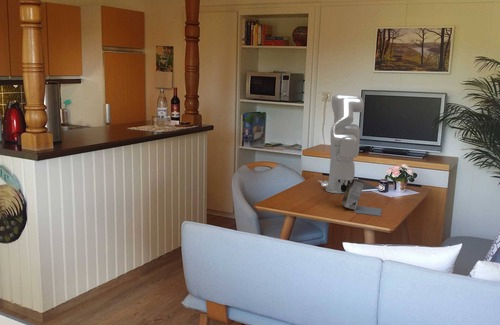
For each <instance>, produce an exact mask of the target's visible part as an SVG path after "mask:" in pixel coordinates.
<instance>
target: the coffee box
mask: <svg viewBox="0 0 500 325" xmlns="http://www.w3.org/2000/svg"><path fill="white" fill-rule="evenodd" d="M364 185H365V181H363V180H362V179H360V178H356V177H354V179H353V180H352V182H351V183H349V184H348V185H347V189H346V191H345V193H343V197H342V200H341V205H342V206H343V207H345V208H348V209H351V210H354V211H355V210H356V207H357V206H358V204H359V202H360V198H361V195H362V191H363V189H364Z"/></svg>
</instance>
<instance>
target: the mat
mask: <svg viewBox="0 0 500 325" xmlns="http://www.w3.org/2000/svg"><path fill="white" fill-rule="evenodd" d="M382 212H383V209H382V208H378V207H370V206H366V205H365V206H363V205H357V207H356V210H354V211H353V213H354V214H361V215H368V216H374V217H375V216H376V217H382V216H381V215H382Z"/></svg>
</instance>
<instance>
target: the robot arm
mask: <svg viewBox="0 0 500 325" xmlns="http://www.w3.org/2000/svg"><path fill="white" fill-rule="evenodd" d="M364 106H365V104H364V100H363V98H362V96H360V95H358V94H343V93H342V94H340V93H339V94H335V95H332V98H331V109H332V111H333V124H332V127H331V128H330V138H329V139H330V140H329V141H330V146H329V153H330V154H329V155H330V160H329V161H330V162H329V173H328V174H329V175H328V182H326V183H325V182H321V187H323V188H325V191H326V192H328V193H331V194H345V191H346V189H347V185H348V184H349V183H351V182H352V180H353V179H354V178H355V173H356V172H355V170H356V169H355V162H354V158H357V157H358V155H359V152H360V140H361V139H360V138H361V130H360V126H359V125H358V124H355V123H353V122H354V113H362V112H363V111H364V110H363V109H364Z"/></svg>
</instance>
